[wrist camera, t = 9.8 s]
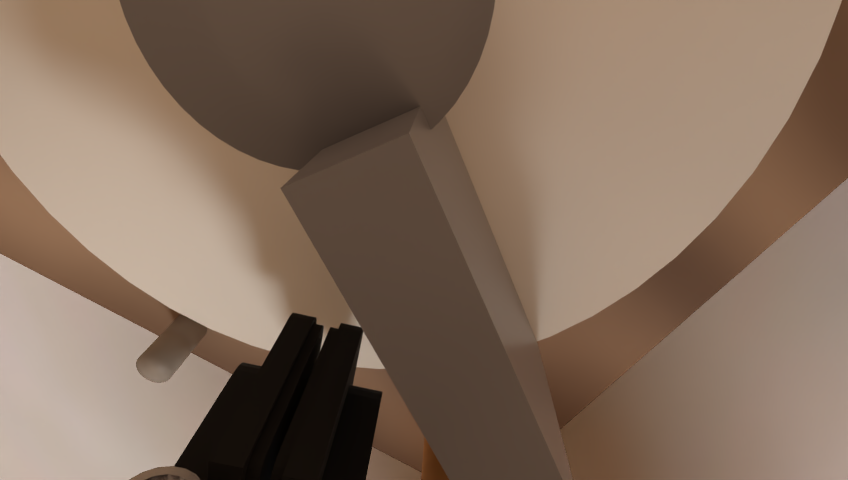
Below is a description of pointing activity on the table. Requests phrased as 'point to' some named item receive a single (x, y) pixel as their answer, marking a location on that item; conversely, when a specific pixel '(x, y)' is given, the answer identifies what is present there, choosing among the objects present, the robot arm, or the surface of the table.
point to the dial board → (561, 353)
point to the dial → (402, 170)
